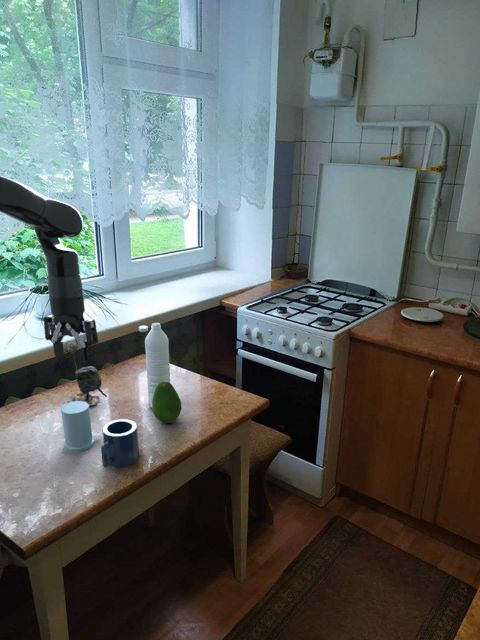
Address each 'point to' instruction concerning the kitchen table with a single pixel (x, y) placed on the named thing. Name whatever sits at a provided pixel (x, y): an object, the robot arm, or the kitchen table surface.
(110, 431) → the navy pipe fitting
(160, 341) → the water bottle
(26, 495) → the kitchen table surface
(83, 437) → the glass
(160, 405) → the avocado
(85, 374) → the plant with pod
